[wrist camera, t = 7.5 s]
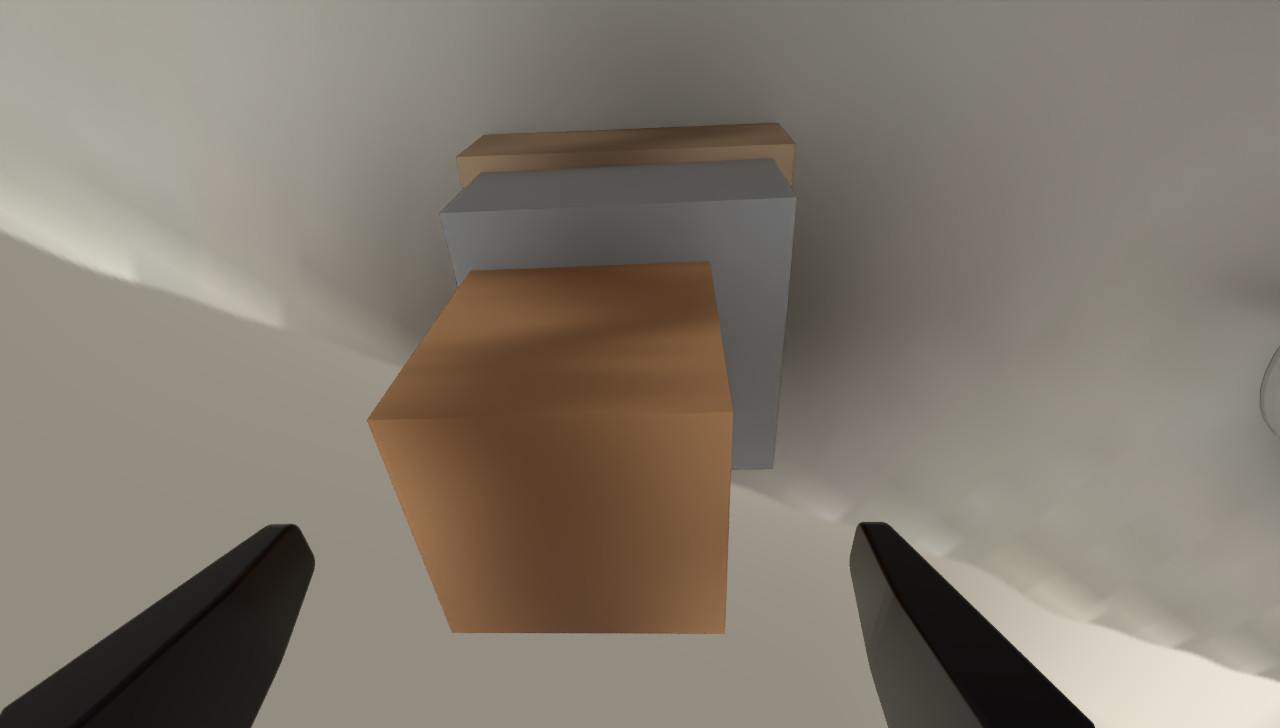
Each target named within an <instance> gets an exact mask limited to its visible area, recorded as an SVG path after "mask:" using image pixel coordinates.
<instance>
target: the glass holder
mask: <svg viewBox="0 0 1280 728" xmlns="http://www.w3.org/2000/svg"><path fill="white" fill-rule="evenodd" d="M1260 408H1261V411H1262V414H1263V417H1264V420H1265V422H1266V423H1267V425H1268V426H1269V427H1270V429H1271V430H1272V431H1273V432H1274V433H1275V434H1276V435H1278V436H1279V437H1280V347H1279V349H1278V350H1277V352H1276V353H1275V355H1274V357H1273V359H1272V361H1271V363H1270V365H1269V367H1268V369H1267V371H1266V373H1265V376H1264V380H1263V383H1262V387H1261V391H1260Z"/></svg>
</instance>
